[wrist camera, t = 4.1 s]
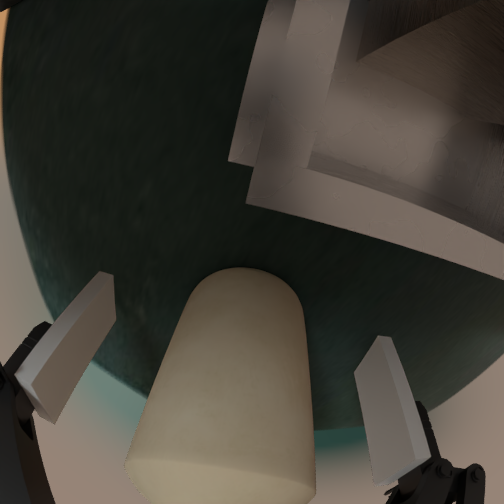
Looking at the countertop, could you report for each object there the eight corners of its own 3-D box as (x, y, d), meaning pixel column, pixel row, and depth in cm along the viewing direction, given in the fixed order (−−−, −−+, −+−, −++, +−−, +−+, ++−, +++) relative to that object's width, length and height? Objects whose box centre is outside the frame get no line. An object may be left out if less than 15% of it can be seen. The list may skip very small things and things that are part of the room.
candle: (170, 277, 13) (68, 486, 4) (290, 253, 12) (302, 527, 3) (211, 360, 15) (171, 534, 6) (311, 346, 14) (323, 542, 5)
